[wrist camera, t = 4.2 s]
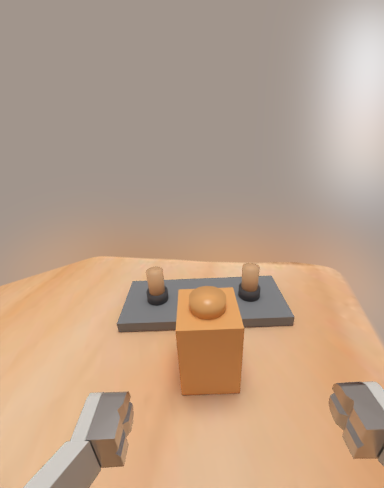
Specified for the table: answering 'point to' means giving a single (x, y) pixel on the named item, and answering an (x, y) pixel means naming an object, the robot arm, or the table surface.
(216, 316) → the orange toy brick
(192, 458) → the table surface
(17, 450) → the table surface
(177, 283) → the mounting plate
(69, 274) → the table surface
